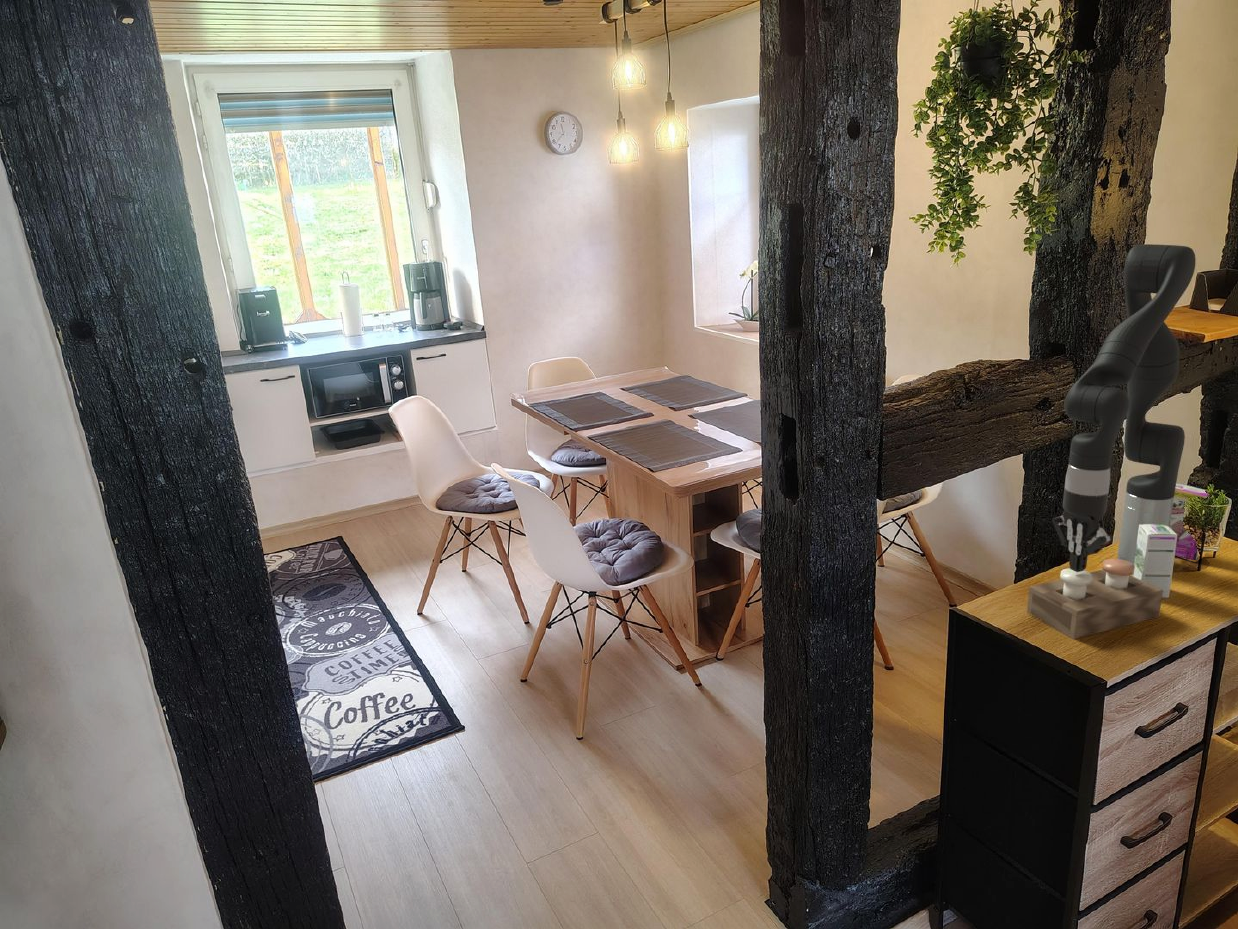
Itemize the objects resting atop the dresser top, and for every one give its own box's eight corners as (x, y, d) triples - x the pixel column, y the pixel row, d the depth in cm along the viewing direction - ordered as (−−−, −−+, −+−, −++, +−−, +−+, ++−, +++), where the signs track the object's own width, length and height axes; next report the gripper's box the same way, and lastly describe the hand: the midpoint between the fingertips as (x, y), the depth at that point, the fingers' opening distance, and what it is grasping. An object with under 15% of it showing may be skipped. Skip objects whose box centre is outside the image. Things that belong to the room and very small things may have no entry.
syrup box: (1170, 598, 181) (1180, 534, 176) (1139, 597, 182) (1148, 533, 178) (1159, 586, 186) (1168, 524, 182) (1129, 585, 187) (1138, 523, 183)
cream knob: (1072, 598, 176) (1076, 566, 174) (1094, 610, 171) (1099, 577, 169) (1050, 603, 175) (1054, 571, 173) (1072, 615, 170) (1076, 582, 168)
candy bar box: (1144, 549, 205) (1153, 484, 200) (1155, 543, 207) (1164, 479, 202) (1195, 564, 196) (1206, 496, 191) (1206, 558, 198) (1217, 491, 193)
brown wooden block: (1108, 593, 184) (1112, 567, 183) (1159, 616, 173) (1163, 589, 172) (1026, 613, 178) (1029, 586, 176) (1073, 639, 167) (1077, 611, 165)
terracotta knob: (1113, 588, 180) (1117, 556, 178) (1136, 599, 175) (1141, 567, 172) (1092, 593, 178) (1096, 561, 176) (1115, 604, 173) (1120, 572, 171)
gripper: (1131, 494, 161) (1119, 579, 166) (1074, 475, 173) (1065, 555, 178) (1100, 501, 158) (1089, 586, 163) (1044, 480, 170) (1036, 561, 175)
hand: (1076, 570), depth 171 cm, fingers closed
